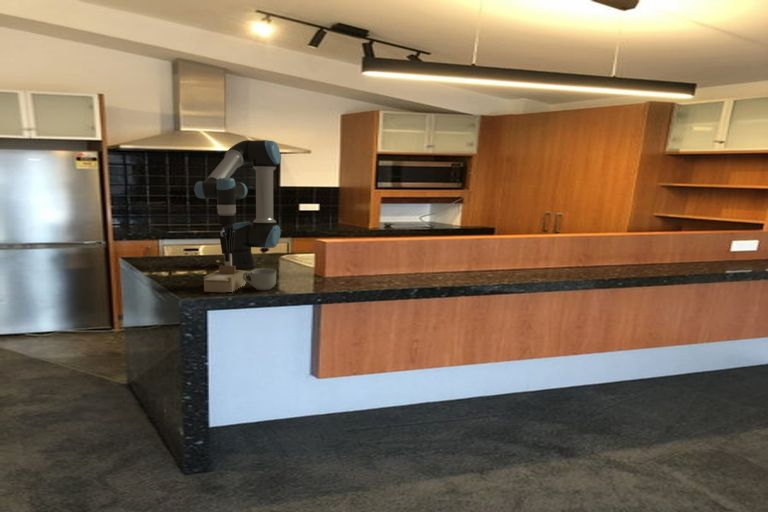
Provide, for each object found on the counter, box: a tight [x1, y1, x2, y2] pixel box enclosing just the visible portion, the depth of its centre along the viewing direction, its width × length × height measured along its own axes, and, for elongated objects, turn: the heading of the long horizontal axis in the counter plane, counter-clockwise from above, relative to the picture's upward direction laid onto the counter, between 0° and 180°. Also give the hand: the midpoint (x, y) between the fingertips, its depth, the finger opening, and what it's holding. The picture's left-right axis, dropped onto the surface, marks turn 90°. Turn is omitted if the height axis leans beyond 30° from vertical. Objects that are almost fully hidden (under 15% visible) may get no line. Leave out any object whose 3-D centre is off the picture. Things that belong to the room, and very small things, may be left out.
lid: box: [203, 264, 237, 282], centre depth 223 cm, size 14×10×4 cm
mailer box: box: [203, 269, 247, 293], centre depth 227 cm, size 16×12×6 cm
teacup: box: [243, 268, 277, 291], centre depth 226 cm, size 14×11×8 cm
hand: (228, 268), depth 230 cm, fingers closed
